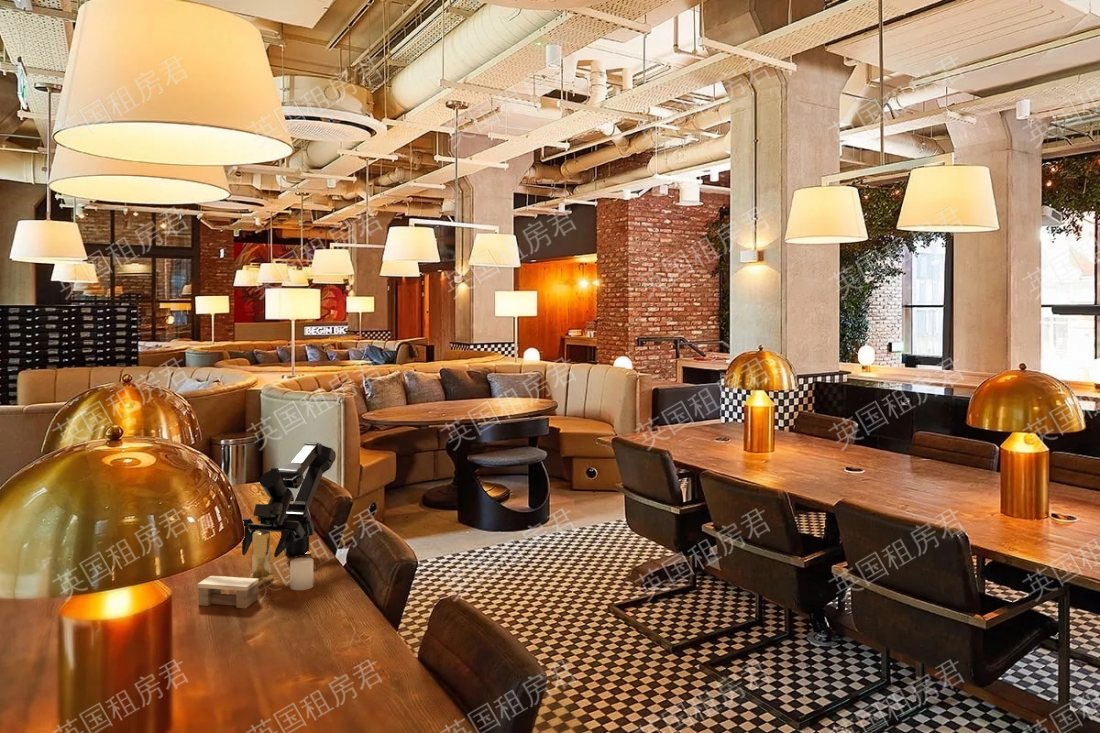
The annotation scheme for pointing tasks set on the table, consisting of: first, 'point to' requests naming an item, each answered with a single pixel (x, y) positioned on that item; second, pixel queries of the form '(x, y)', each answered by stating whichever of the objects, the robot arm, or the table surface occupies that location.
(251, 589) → the bridge
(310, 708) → the table surface
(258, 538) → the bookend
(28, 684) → the table surface
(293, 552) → the robot arm
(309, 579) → the white cylinder
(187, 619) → the table surface
